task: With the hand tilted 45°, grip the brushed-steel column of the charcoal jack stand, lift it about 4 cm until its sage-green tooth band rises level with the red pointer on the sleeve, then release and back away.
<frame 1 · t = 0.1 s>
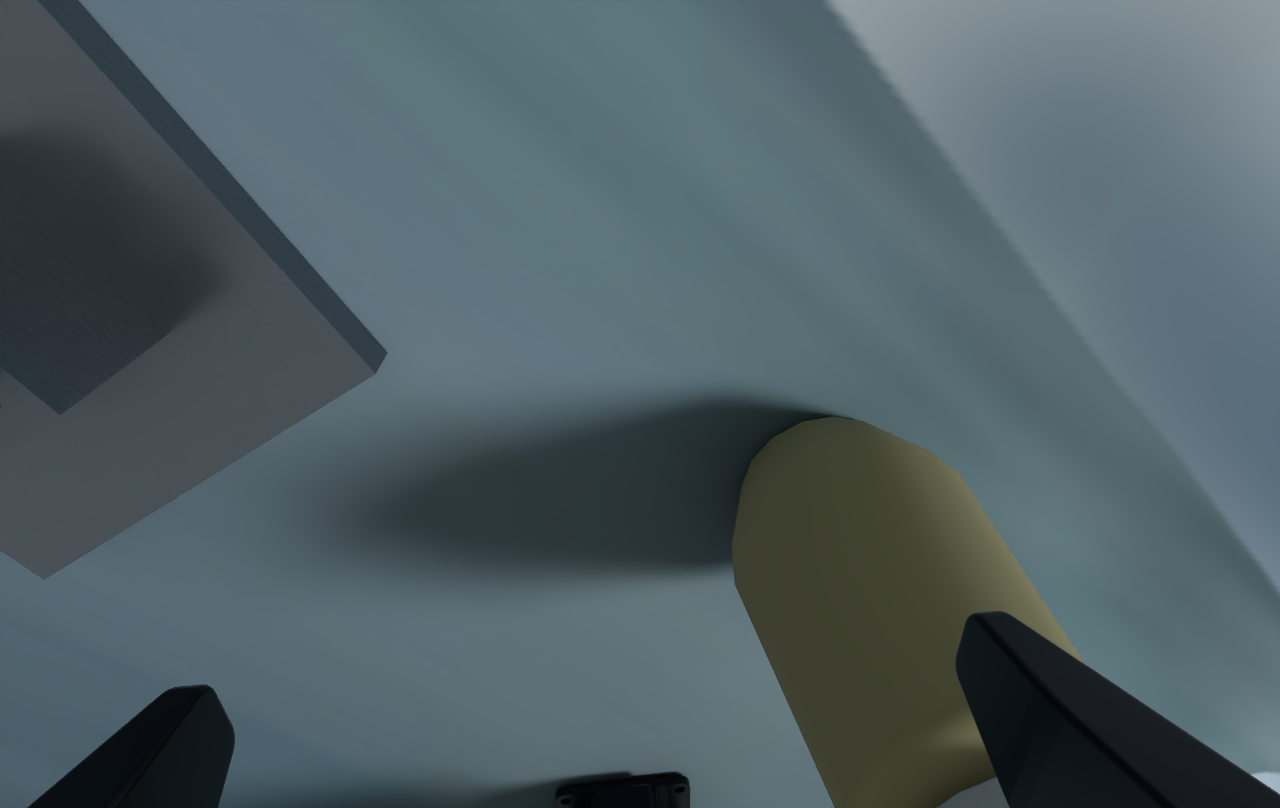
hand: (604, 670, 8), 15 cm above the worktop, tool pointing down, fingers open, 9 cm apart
jack stand: (30, 286, 20), on the worktop
squeeze bottle: (815, 478, 26), on the worktop
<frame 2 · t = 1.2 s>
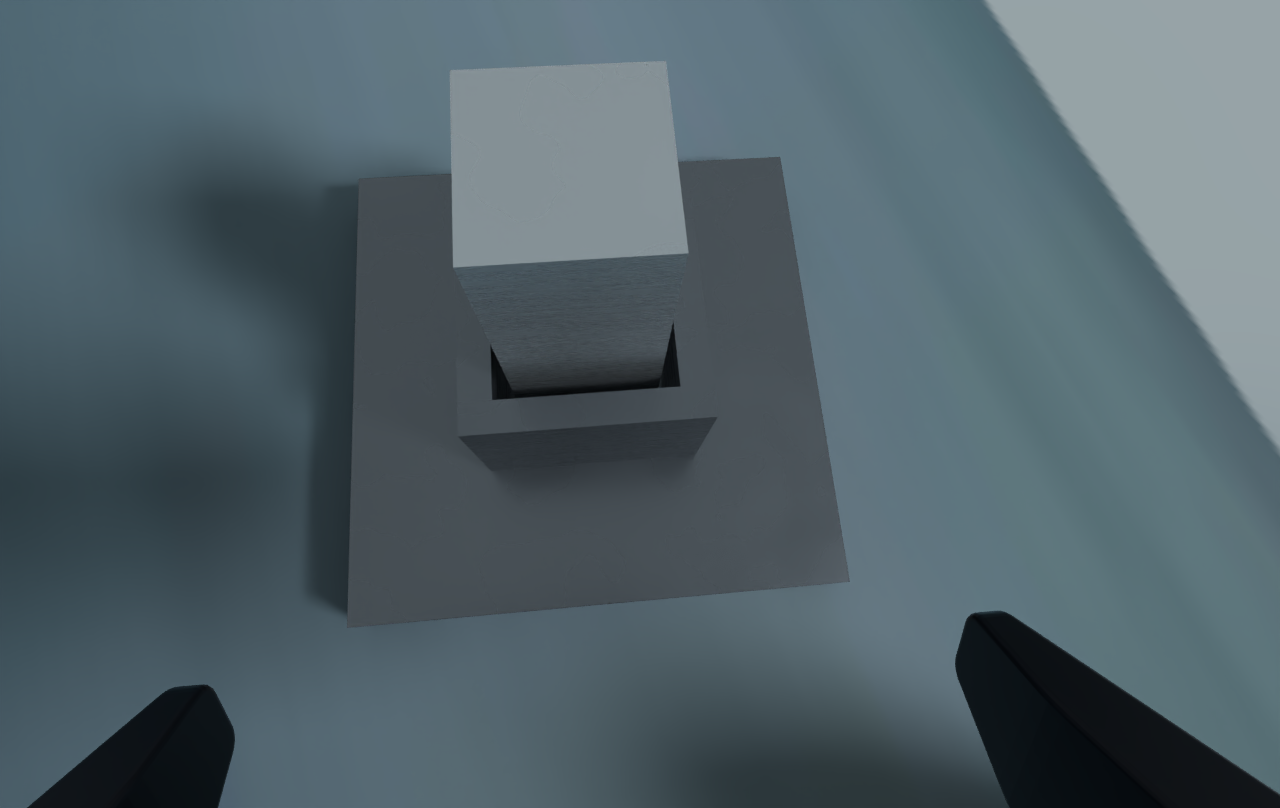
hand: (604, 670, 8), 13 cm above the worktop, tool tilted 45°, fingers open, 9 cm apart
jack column: (579, 291, 16), point 7 cm above the worktop, slide at 0.0 cm
jack stand: (589, 381, 22), on the worktop
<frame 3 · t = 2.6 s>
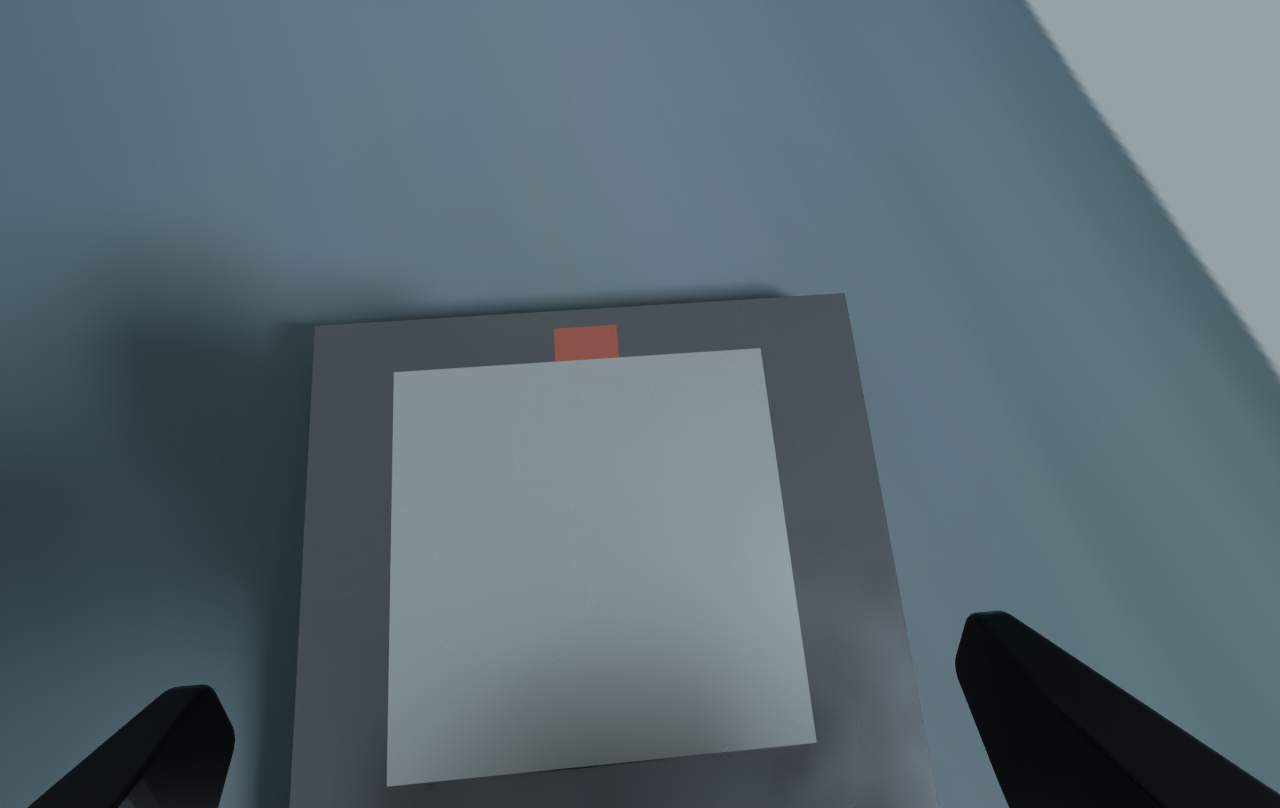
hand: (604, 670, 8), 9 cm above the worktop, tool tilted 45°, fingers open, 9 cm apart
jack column: (600, 568, 11), point 7 cm above the worktop, slide at 0.0 cm
jack stand: (605, 583, 18), on the worktop
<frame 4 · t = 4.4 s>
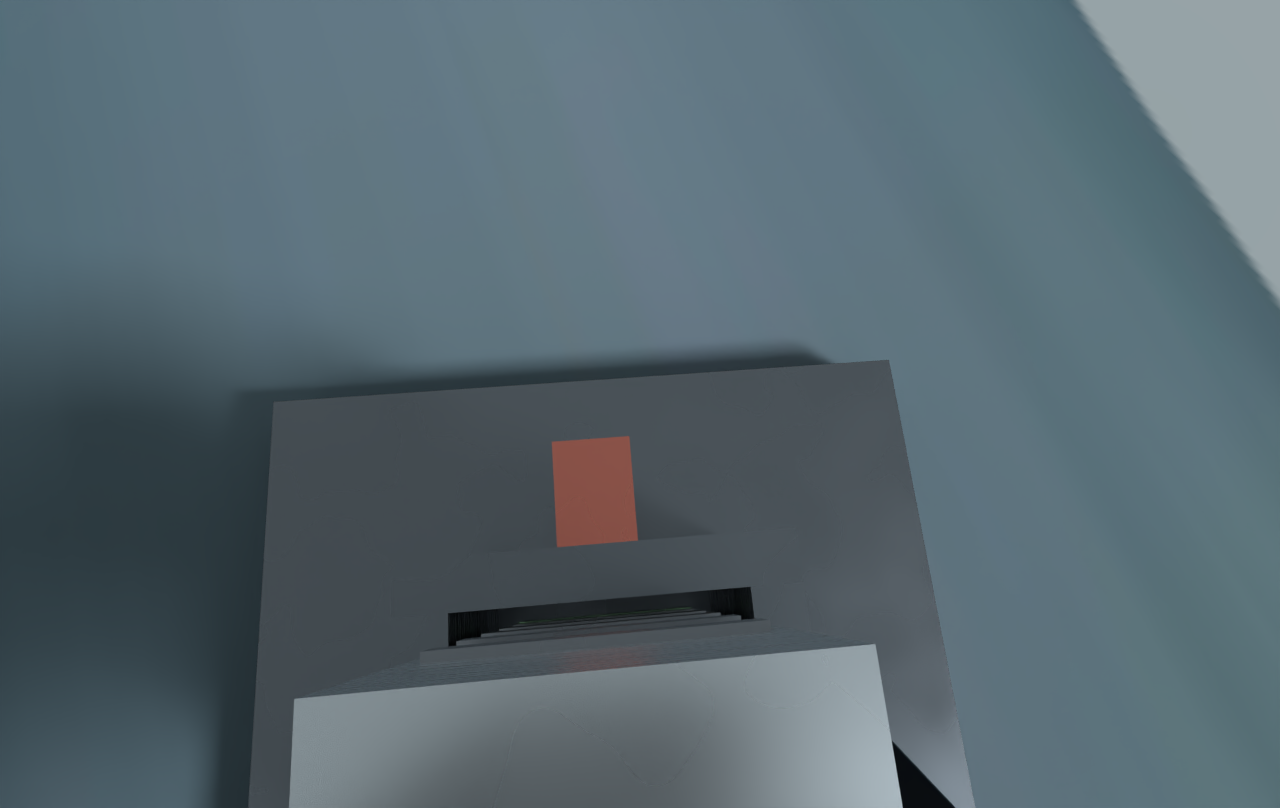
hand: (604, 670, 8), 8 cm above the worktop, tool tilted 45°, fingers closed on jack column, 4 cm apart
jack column: (612, 776, 9), point 7 cm above the worktop, slide at 0.0 cm, touching gripper
jack stand: (612, 701, 15), on the worktop
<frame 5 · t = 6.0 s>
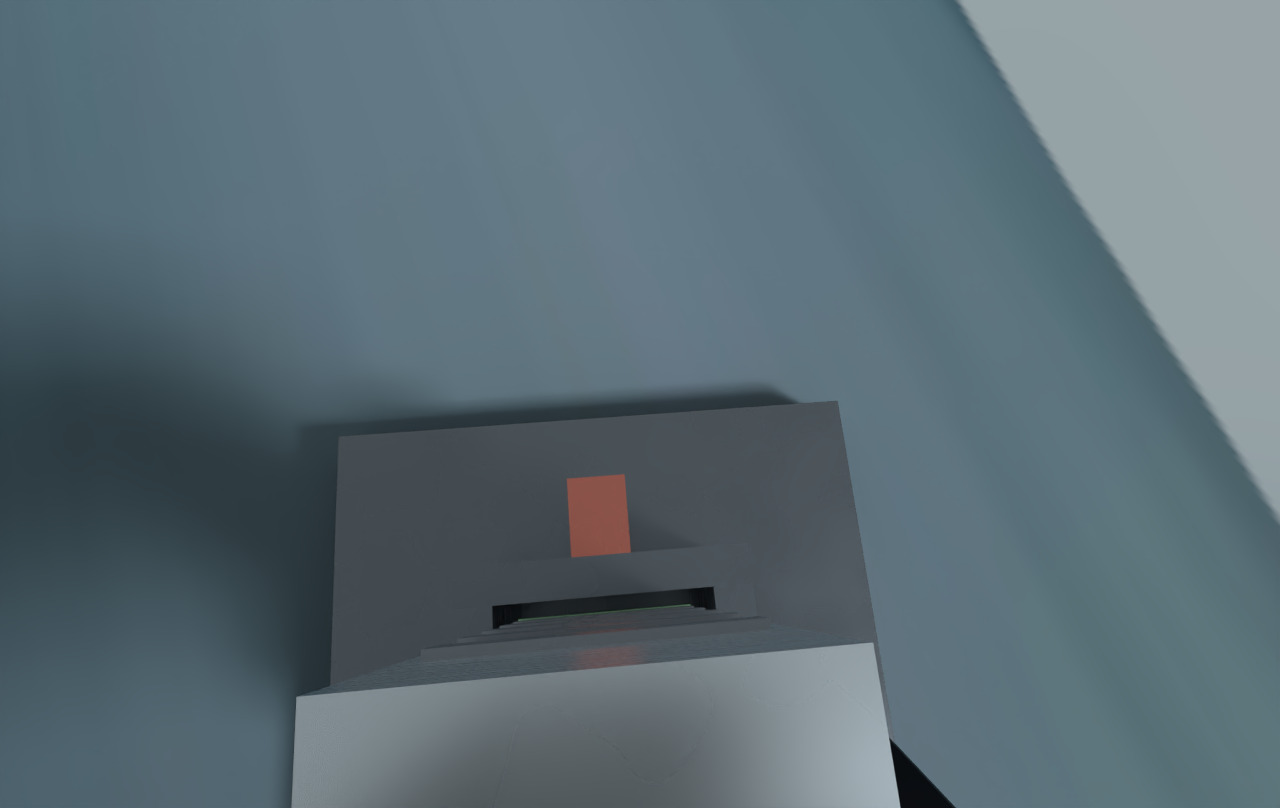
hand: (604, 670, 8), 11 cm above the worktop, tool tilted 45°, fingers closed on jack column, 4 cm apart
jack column: (612, 772, 9), point 10 cm above the worktop, slide at 3.7 cm, touching gripper
jack stand: (611, 678, 19), on the worktop
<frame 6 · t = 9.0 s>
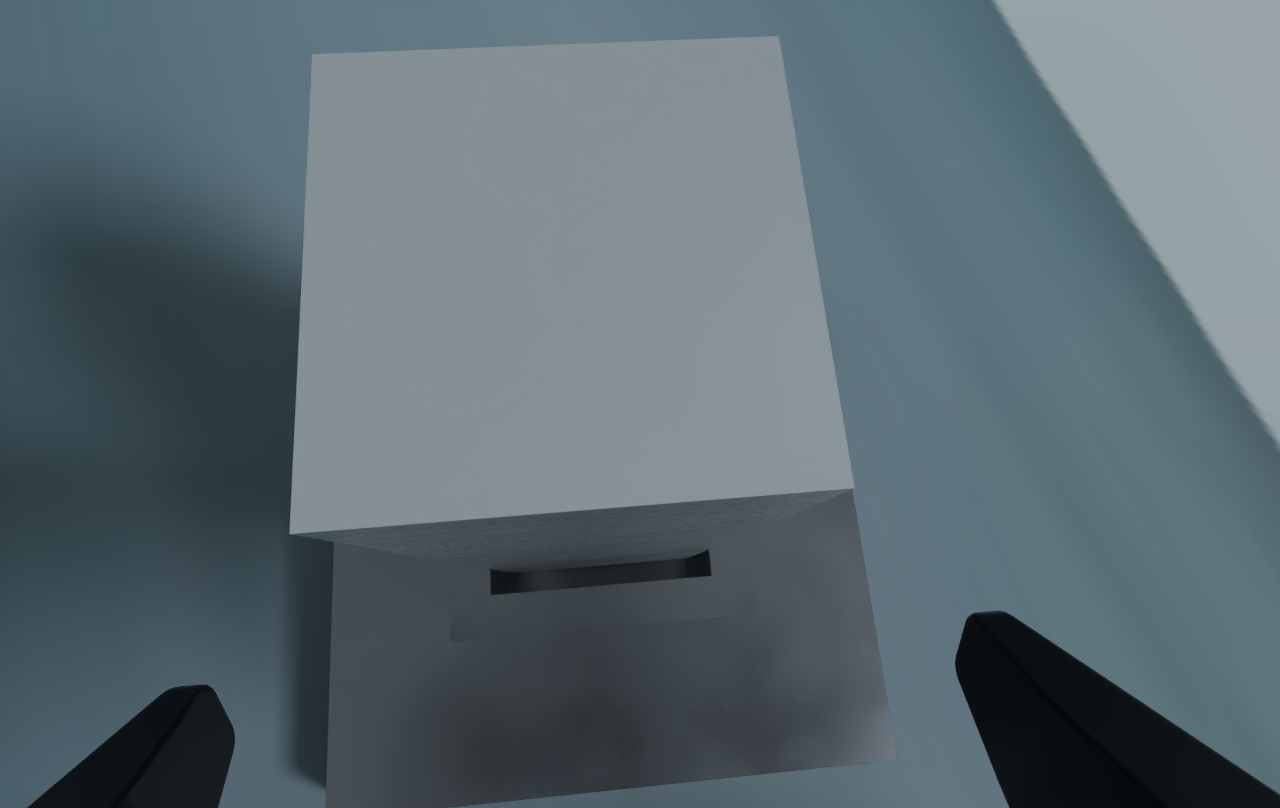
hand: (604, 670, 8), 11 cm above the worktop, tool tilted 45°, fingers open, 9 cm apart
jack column: (587, 420, 10), point 11 cm above the worktop, slide at 3.9 cm
jack stand: (599, 509, 20), on the worktop
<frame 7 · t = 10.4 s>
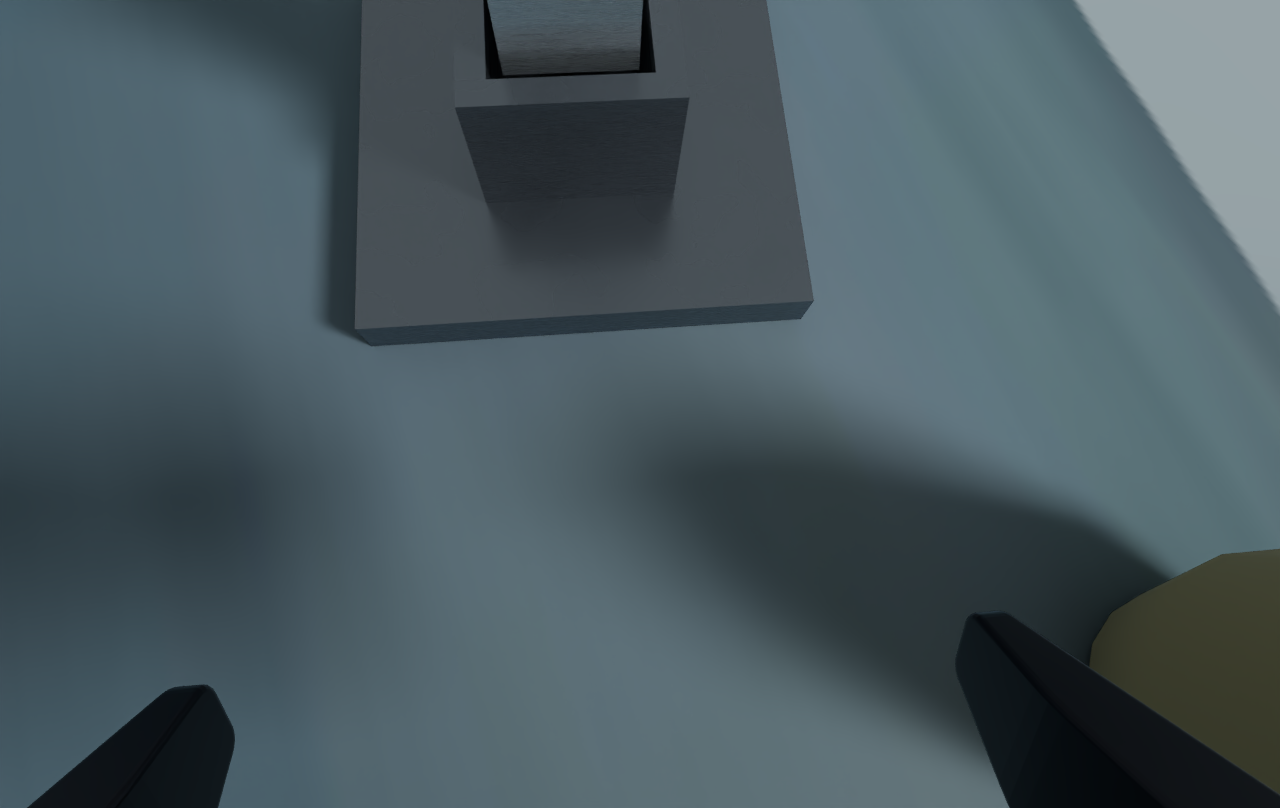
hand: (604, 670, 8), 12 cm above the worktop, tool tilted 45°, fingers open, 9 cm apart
jack stand: (577, 145, 24), on the worktop
squeeze bottle: (1174, 692, 20), on the worktop
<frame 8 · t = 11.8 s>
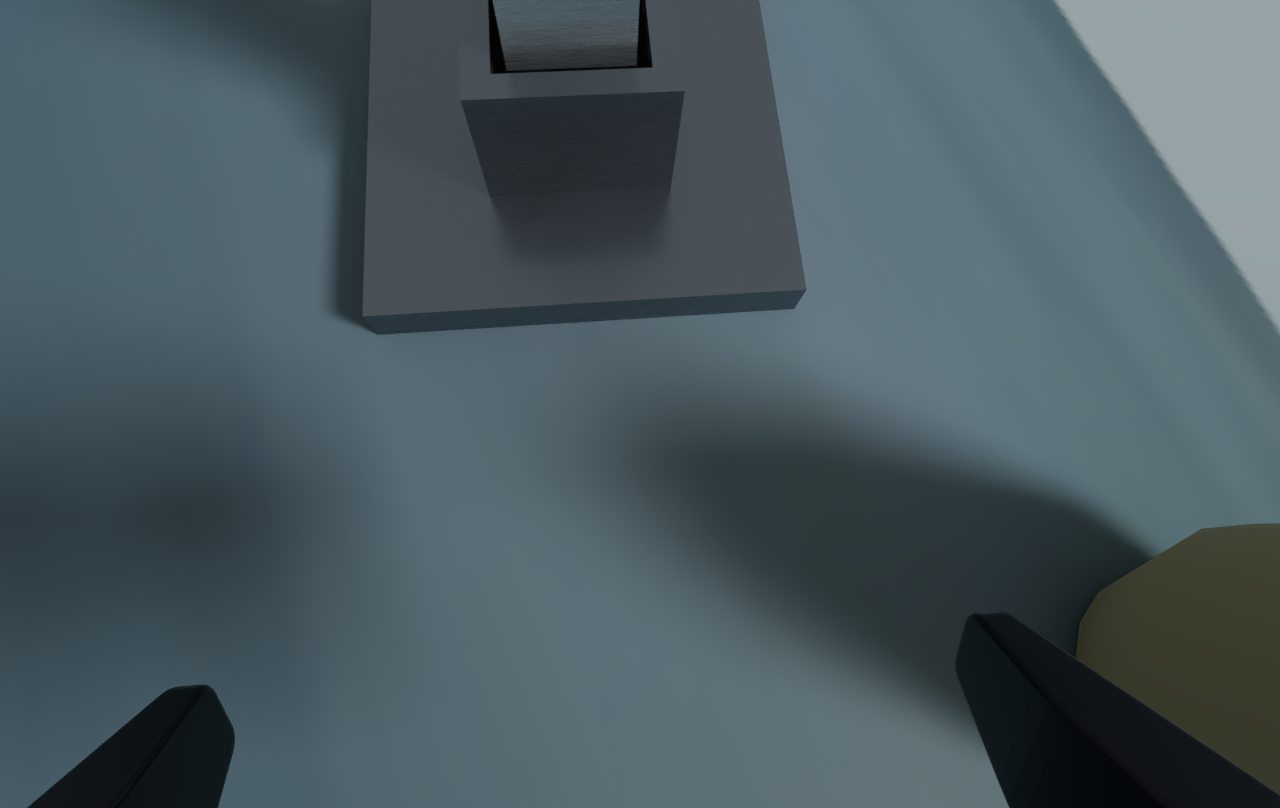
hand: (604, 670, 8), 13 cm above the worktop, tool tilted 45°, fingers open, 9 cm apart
jack stand: (577, 143, 25), on the worktop
squeeze bottle: (1161, 669, 21), on the worktop
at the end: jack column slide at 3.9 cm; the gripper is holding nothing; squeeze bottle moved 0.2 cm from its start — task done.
